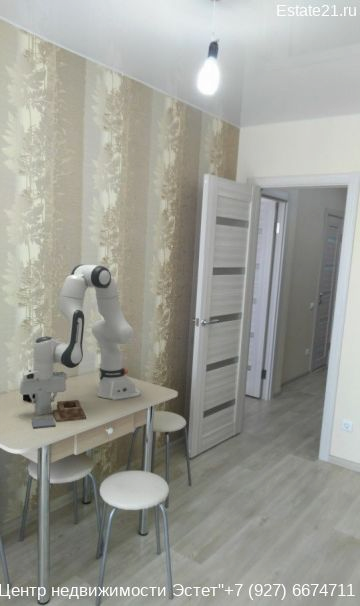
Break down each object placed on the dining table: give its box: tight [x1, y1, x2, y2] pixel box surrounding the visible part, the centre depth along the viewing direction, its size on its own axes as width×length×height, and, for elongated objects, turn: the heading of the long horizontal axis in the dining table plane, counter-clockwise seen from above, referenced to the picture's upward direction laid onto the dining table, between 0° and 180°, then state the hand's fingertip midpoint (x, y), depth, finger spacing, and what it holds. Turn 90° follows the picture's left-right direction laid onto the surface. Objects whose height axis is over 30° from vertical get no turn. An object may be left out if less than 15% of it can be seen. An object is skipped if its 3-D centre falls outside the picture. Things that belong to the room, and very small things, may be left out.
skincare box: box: [34, 389, 52, 416], centre depth 206 cm, size 6×4×12 cm
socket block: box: [52, 399, 87, 423], centre depth 205 cm, size 13×13×5 cm
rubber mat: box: [31, 416, 56, 430], centre depth 194 cm, size 9×9×1 cm
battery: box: [22, 394, 35, 403], centre depth 222 cm, size 4×7×10 cm, turn 64°
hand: (43, 402), depth 206 cm, fingers closed on skincare box, 7 cm apart
